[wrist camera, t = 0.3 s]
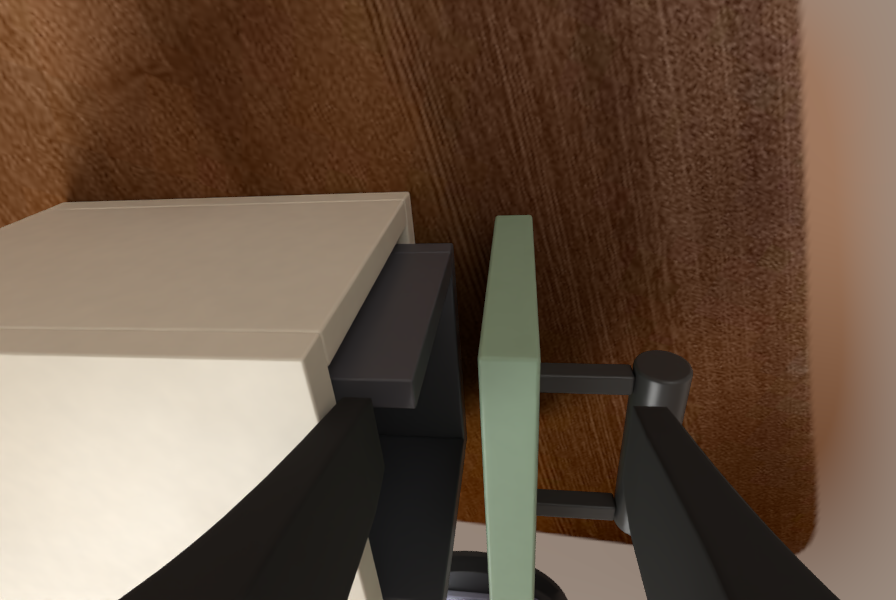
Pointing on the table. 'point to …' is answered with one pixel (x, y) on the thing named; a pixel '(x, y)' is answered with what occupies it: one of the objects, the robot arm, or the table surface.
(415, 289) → the drawer
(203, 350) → the storage box
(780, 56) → the table surface
